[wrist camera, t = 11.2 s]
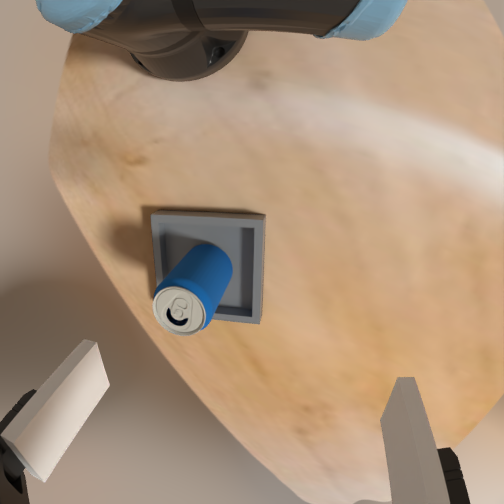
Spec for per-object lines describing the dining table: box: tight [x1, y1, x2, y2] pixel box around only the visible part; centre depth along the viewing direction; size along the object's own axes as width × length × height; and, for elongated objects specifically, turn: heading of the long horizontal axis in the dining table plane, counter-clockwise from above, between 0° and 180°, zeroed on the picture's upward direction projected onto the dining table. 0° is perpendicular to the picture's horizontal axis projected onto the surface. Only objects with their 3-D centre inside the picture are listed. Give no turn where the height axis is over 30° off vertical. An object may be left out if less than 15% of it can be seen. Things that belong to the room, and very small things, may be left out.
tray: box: [151, 210, 266, 324], centre depth 42 cm, size 14×14×2 cm
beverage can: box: [153, 244, 233, 336], centre depth 37 cm, size 6×6×12 cm
